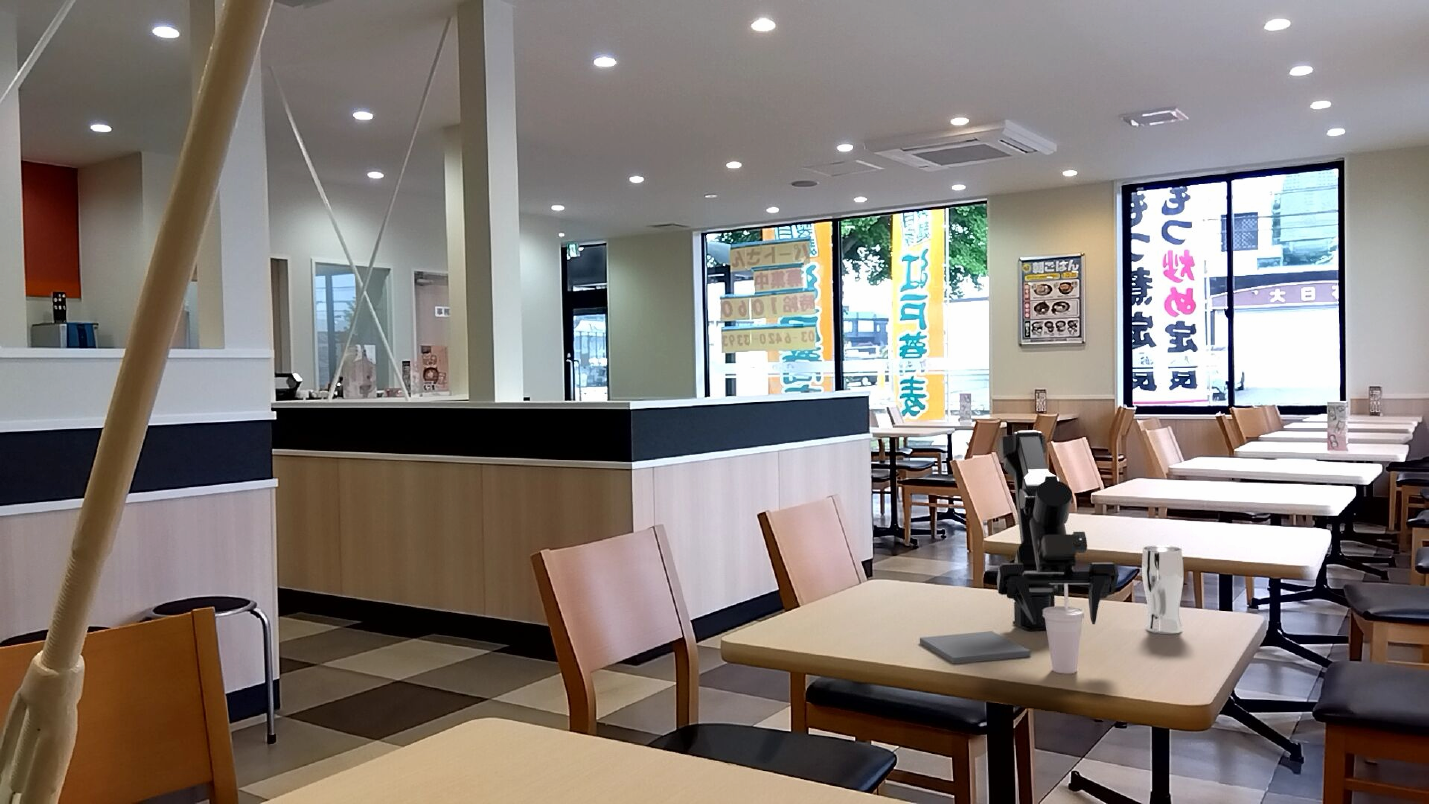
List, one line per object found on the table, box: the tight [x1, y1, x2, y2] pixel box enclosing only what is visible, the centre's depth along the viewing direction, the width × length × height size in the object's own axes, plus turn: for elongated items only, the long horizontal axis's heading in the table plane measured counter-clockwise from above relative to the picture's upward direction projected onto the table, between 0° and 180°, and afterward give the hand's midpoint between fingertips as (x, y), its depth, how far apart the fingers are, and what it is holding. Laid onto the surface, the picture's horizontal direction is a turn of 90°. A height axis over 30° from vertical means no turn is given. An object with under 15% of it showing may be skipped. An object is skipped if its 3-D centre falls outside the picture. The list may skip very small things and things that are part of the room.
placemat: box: [919, 630, 1031, 665], centre depth 183 cm, size 14×14×1 cm
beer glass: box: [1141, 545, 1184, 635], centre depth 191 cm, size 7×7×15 cm
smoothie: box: [1042, 583, 1085, 674], centre depth 168 cm, size 6×6×14 cm
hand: (1064, 622), depth 168 cm, fingers open, 9 cm apart
